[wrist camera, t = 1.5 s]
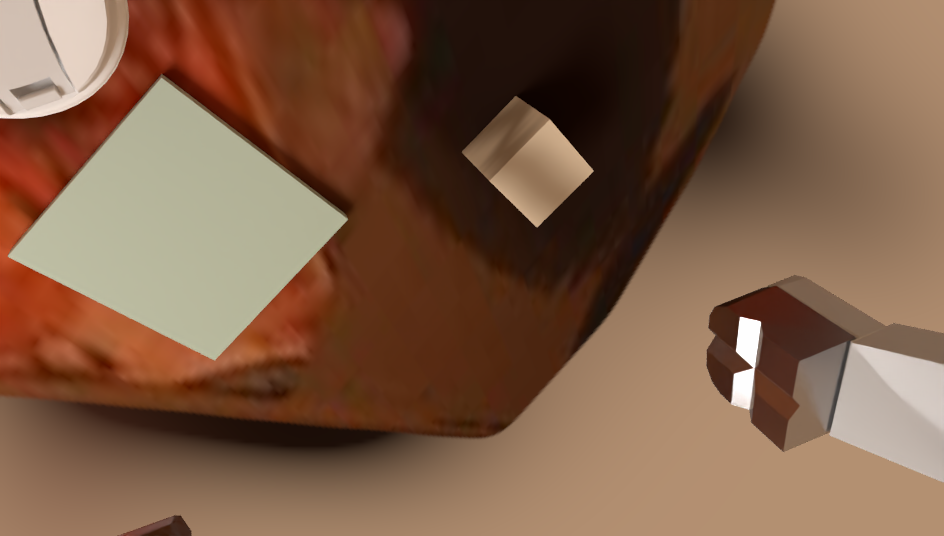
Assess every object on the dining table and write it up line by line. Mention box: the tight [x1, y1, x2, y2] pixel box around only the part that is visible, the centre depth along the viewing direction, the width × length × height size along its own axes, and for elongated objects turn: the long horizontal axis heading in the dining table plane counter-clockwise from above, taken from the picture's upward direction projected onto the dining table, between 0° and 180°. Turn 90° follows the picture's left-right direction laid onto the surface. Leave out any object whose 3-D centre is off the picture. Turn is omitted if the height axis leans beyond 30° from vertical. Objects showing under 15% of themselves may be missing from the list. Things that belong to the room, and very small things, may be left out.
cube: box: [462, 96, 593, 227], centre depth 41 cm, size 5×5×5 cm
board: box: [8, 74, 348, 360], centre depth 38 cm, size 13×13×1 cm
